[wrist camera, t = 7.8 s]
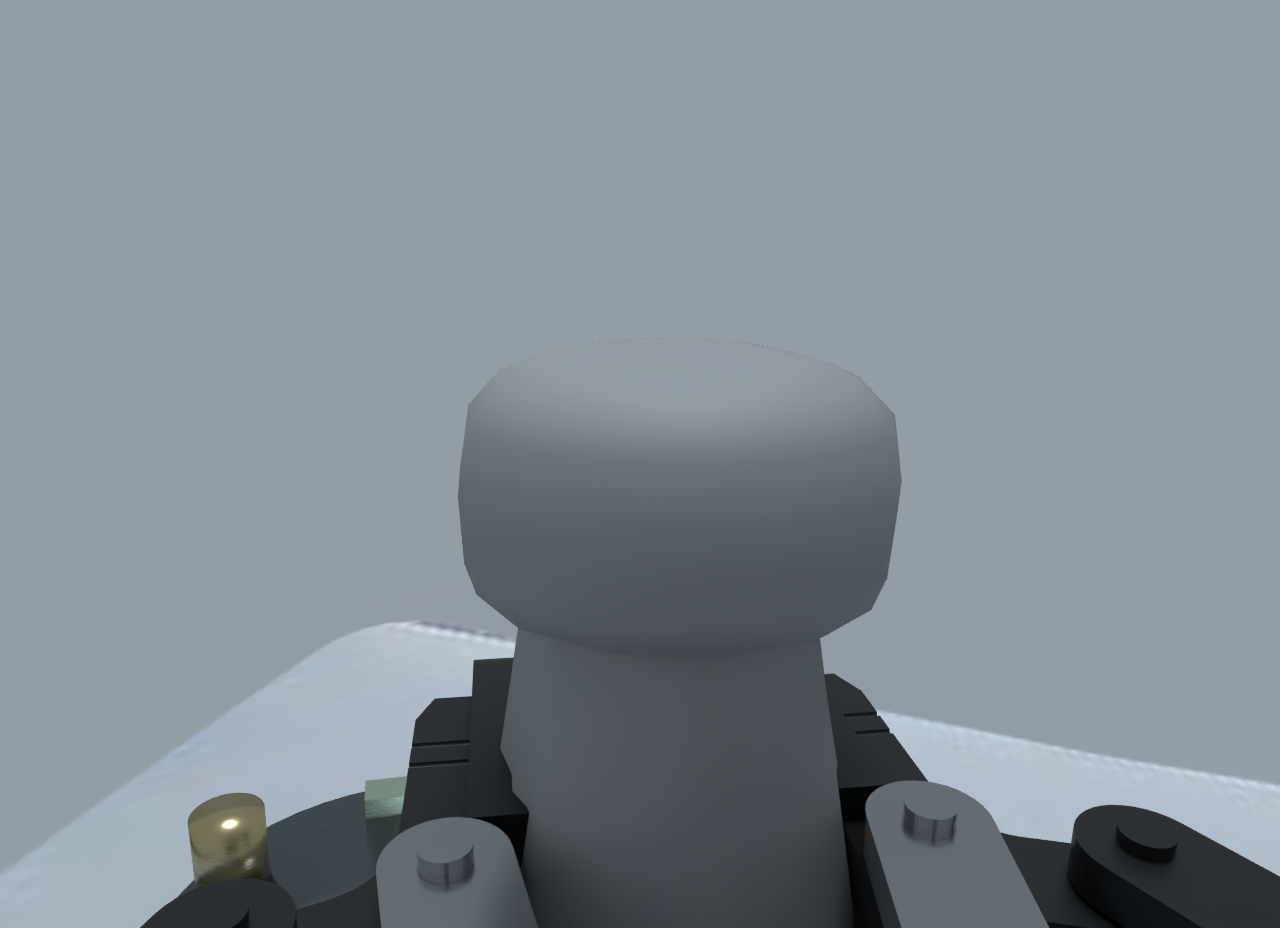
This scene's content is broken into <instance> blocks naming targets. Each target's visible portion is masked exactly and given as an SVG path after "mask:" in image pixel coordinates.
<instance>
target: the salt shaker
mask: <svg viewBox="0 0 1280 928" xmlns="http://www.w3.org/2000/svg"><path fill="white" fill-rule="evenodd" d="M900 488H901V472H900V462H899V451H898V441H897V431H896V422H895V414H894V413H893V412H892V411H891V410H890V409H889V408H888V407H887V406H886V405H885V404H884V403H883V401H882V400H881V399H880V398H879V397H878V396H877V395H876V394H875V393H874V392H873V391H872V390H871V389H870V387H868V385H867V384H866V383H865V382H864V381H863V380H862V379H861V378H860V377H859V376H856V375H854V374H853V373H851V372H849V371H847V370H845V369H843V368H841V367H839V366H837V365H835V364H832V363H829V362H826V361H822V360H819V359H815V358H813V357H809V356H806V355H803V354H799V353H796V352H793V351H789V350H784V349H778V348H774V347H769V346H764V345H759V344H750V343H738V342H726V341H713V340H687V339H640V340H621V341H604V342H598V343H590V344H581V345H574V346H566V347H562V348H560V349H557V350H554V351H551V352H548V353H545V354H542V355H539V356H536V357H533V358H531V359H528V360H525V361H522V362H520V363H517V364H514V365H511V366H509V367H506V368H503V369H500V370H499V371H498V372H497V373H496V375H495V376H494V377H493V378H492V379H491V380H490V381H489V382H488V383H487V385H486V386H485V387H484V388H483V389H482V390H481V391H480V392H479V394H478V395H477V396H476V397H475V398H474V399H473V400H472V401H471V403H470V404H469V405H468V414H467V420H466V428H465V435H464V444H463V451H462V458H461V465H460V477H459V491H458V502H459V513H460V522H461V523H460V524H461V534H462V544H463V556H464V564H465V566H466V569H467V571H468V574H469V576H470V579H471V581H472V584H473V586H474V589H475V592H476V594H477V595H478V596H479V597H480V598H482V599H483V600H484V601H485V602H487V603H488V604H489V605H490V606H492V607H493V608H494V609H495V610H497V611H498V612H499V613H500V614H501V615H503V616H504V617H505V618H506V619H508V620H509V621H510V622H511V623H513V624H514V625H515V626H517V627H518V634H517V640H516V646H515V653H514V660H513V666H512V673H511V680H510V687H509V693H508V700H507V707H506V713H505V720H504V727H503V734H502V740H501V747H500V749H501V751H502V753H503V756H504V758H505V760H506V762H507V764H508V767H509V769H510V771H511V773H512V791H513V792H514V794H515V795H516V796H517V797H518V798H519V799H520V800H521V801H522V802H523V803H524V805H525V806H526V807H527V809H528V811H529V819H528V825H527V832H526V839H525V846H524V852H523V859H522V864H521V875H522V878H523V881H524V884H525V887H526V891H527V894H528V897H529V900H530V903H531V907H532V910H533V913H534V916H535V919H536V923H537V926H538V928H854V913H853V904H852V896H851V888H850V880H849V872H848V864H847V855H846V847H845V839H844V831H843V823H842V815H841V807H840V798H839V790H838V782H837V774H836V772H837V766H838V765H837V758H836V752H835V746H834V739H833V733H832V726H831V720H830V713H829V707H828V700H827V692H826V684H825V676H824V669H823V660H822V652H821V644H820V638H821V637H823V636H825V635H827V634H829V633H831V632H832V631H834V630H836V629H838V628H840V627H841V626H843V625H845V624H847V623H849V622H850V621H852V620H854V619H856V618H858V617H859V616H861V615H863V614H865V613H867V612H868V611H870V610H871V609H872V607H873V605H874V603H875V601H876V599H877V597H878V595H879V593H880V591H881V589H882V587H883V585H884V583H885V581H886V579H887V574H888V569H889V562H890V556H891V549H892V543H893V536H894V530H895V524H896V517H897V511H898V504H899V496H900Z"/></svg>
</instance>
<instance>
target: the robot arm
mask: <svg viewBox="0 0 1280 928" xmlns="http://www.w3.org/2000/svg"><path fill="white" fill-rule="evenodd" d="M513 660H514V658H499V659H482V660H474V665H473V687H472V696H469V697H453V698H438V699H434V700H433V701H432V702H431V704H430V705H429V706H428V707H427V708H426V709H425V710H424V711H423V712H422V714H421V715H420V716H419V717H418V718H417V719H416V721H415V728H414V735H413V741H412V748H411V755H410V761H409V768H408V774H407V781H406V788H405V794H404V801H403V808H402V814H401V821H400V828H399V834H398V836H396V837H395V838H394V839H393V840H392V841H390V842H389V843H388V844H387V846H386V847H385V848H384V849H383V851H382V852H381V854H380V856H379V858H378V861H377V864H376V875H375V876H373V877H372V878H371V879H370V880H368V881H367V882H365V883H364V884H362V885H360V886H359V887H357V888H355V889H353V890H351V891H349V892H347V893H345V894H342V895H340V896H337V897H334V898H332V899H329V900H326V901H322V902H319V903H316V904H313V905H310V906H307V907H304V908H300V909H297V910H296V907H295V904H294V901H293V899H292V897H291V896H290V894H289V893H288V892H287V891H286V890H284V889H283V888H282V887H280V886H278V885H276V884H274V883H272V882H268V881H265V880H260V879H252V878H239V879H229V880H224V881H219V882H214V883H211V884H208V885H204V886H201V887H199V888H196V889H194V890H192V891H189V892H187V893H185V894H183V895H181V896H179V897H178V898H176V899H174V900H173V901H171V902H170V903H168V904H167V905H165V906H164V907H163V908H161V909H160V910H159V911H158V912H157V913H155V914H154V915H153V916H152V917H151V918H150V919H149V920H148V921H147V922H146V923H145V924H144V925H143V926H141V927H140V928H538V926H537V923H536V919H535V916H534V913H533V910H532V907H531V903H530V900H529V897H528V894H527V891H526V887H525V884H524V881H523V878H522V875H521V864H522V859H523V852H524V846H525V839H526V832H527V825H528V819H529V811H528V809H527V807H526V806H525V805H524V803H523V802H522V801H521V800H520V799H519V798H518V797H517V796H516V795H515V794H514V792H513V791H512V773H511V771H510V769H509V767H508V764H507V762H506V760H505V758H504V756H503V753H502V751H501V749H500V747H501V740H502V734H503V727H504V720H505V713H506V707H507V700H508V693H509V687H510V680H511V673H512V666H513ZM824 676H825V684H826V692H827V700H828V707H829V713H830V720H831V726H832V733H833V739H834V746H835V752H836V758H837V765H838V766H837V772H836V774H837V782H838V790H839V798H840V807H841V815H842V823H843V831H844V839H845V847H846V855H847V864H848V872H849V880H850V888H851V896H852V904H853V913H854V928H1280V876H1278V875H1276V874H1274V873H1272V872H1270V871H1268V870H1267V869H1265V868H1263V867H1261V866H1259V865H1257V864H1256V863H1254V862H1252V861H1250V860H1248V859H1246V858H1245V857H1243V856H1241V855H1239V854H1237V853H1235V852H1233V851H1232V850H1230V849H1228V848H1226V847H1224V846H1222V845H1221V844H1219V843H1217V842H1215V841H1213V840H1211V839H1209V838H1208V837H1206V836H1204V835H1202V834H1200V833H1198V832H1197V831H1195V830H1193V829H1191V828H1189V827H1187V826H1185V825H1184V824H1182V823H1180V822H1178V821H1176V820H1174V819H1172V818H1169V817H1167V816H1164V815H1162V814H1159V813H1156V812H1153V811H1149V810H1146V809H1142V808H1137V807H1131V806H1124V805H1104V806H1098V807H1093V808H1091V809H1088V810H1086V811H1084V812H1083V813H1081V814H1080V815H1079V816H1078V817H1077V819H1076V820H1075V823H1074V828H1073V834H1072V841H1071V843H1064V842H1056V841H1048V840H1041V839H1033V838H1025V837H1019V836H1013V835H1008V834H1004V833H1000V831H999V829H998V827H997V825H996V823H995V822H994V820H993V818H992V816H991V815H990V813H989V812H988V811H987V810H986V809H985V808H984V807H983V806H982V805H981V804H980V803H979V802H977V801H976V800H975V799H973V798H972V797H970V796H968V795H967V794H965V793H963V792H961V791H959V790H956V789H954V788H951V787H948V786H945V785H941V784H937V783H932V782H928V781H927V779H926V778H925V777H924V775H923V774H922V772H921V771H920V770H919V768H918V767H917V766H916V764H915V763H914V762H913V760H912V759H911V758H910V756H909V755H908V753H907V752H906V751H905V749H904V748H903V747H902V745H901V744H900V743H899V741H898V740H897V739H896V737H895V736H894V734H893V733H890V731H889V728H888V726H887V725H886V724H885V722H884V721H883V720H882V718H881V717H880V716H877V711H876V710H875V709H874V707H873V706H872V705H871V703H870V702H869V701H868V699H867V698H866V696H865V695H864V694H863V692H862V691H861V690H859V689H858V688H856V687H854V686H853V685H851V684H849V683H848V682H846V681H845V680H843V679H841V678H840V677H838V676H837V675H835V674H824Z"/></svg>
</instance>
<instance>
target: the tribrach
mask: <svg viewBox="0 0 1280 928" xmlns="http://www.w3.org/2000/svg"><path fill="white" fill-rule="evenodd" d="M406 781H407V776H406V777H397V778H388V779H379V780H369V781H366V786H365V792H361V793H357V794H352V795H349V796H345V797H342V798H339V799H335V800H332V801H328V802H325V803H322V804H320V805H317V806H314V807H312V808H309V809H306V810H304V811H301V812H298V813H296V814H294V815H292V816H290V817H288V818H285V819H283V820H281V821H279V822H277V823H275V824H272V825H271V826H269V827H267V828H266V817H265V807H264V803H263V801H262V800H261V799H260V798H259V797H257V796H255V795H252V794H247V793H231V794H225V795H221V796H218V797H215V798H212V799H210V800H208V801H206V802H204V803H202V804H201V805H199V806H198V807H197V808H196V809H194V811H193V812H192V813H191V814H190V816H189V818H188V829H189V837H190V846H191V854H192V863H193V872H194V881H193V882H192V883H191V884H190V885H189V886H188V887H187V888H186V889H185V890H184V891H183V892H182V893H181V894H180V895H179V896H181V895H183V894H185V893H187V892H189V891H192V890H194V889H196V888H199V887H201V886H204V885H208V884H211V883H214V882H219V881H224V880H229V879H239V878H252V879H260V880H265V881H268V882H272V883H274V884H276V885H278V886H280V887H282V888H283V889H284V890H286V891H287V892H288V893H289V894H290V896H291V897H292V899H293V901H294V904H295V907H296V910H297V909H300V908H304V907H307V906H310V905H313V904H316V903H319V902H322V901H326V900H329V899H332V898H334V897H337V896H340V895H342V894H345V893H347V892H349V891H351V890H353V889H355V888H357V887H359V886H360V885H362V884H364V883H365V882H367V881H368V880H370V879H371V878H372V877H373V876H375V875H376V864H377V861H378V858H379V856H380V854H381V852H382V851H383V849H384V848H385V847H386V846H387V844H388V843H389V842H390V841H392V840H393V839H394V838H395V837H396V836H398V834H399V828H400V821H401V814H402V808H403V801H404V794H405V788H406ZM179 896H178V897H179ZM178 897H177V898H178Z"/></svg>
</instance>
